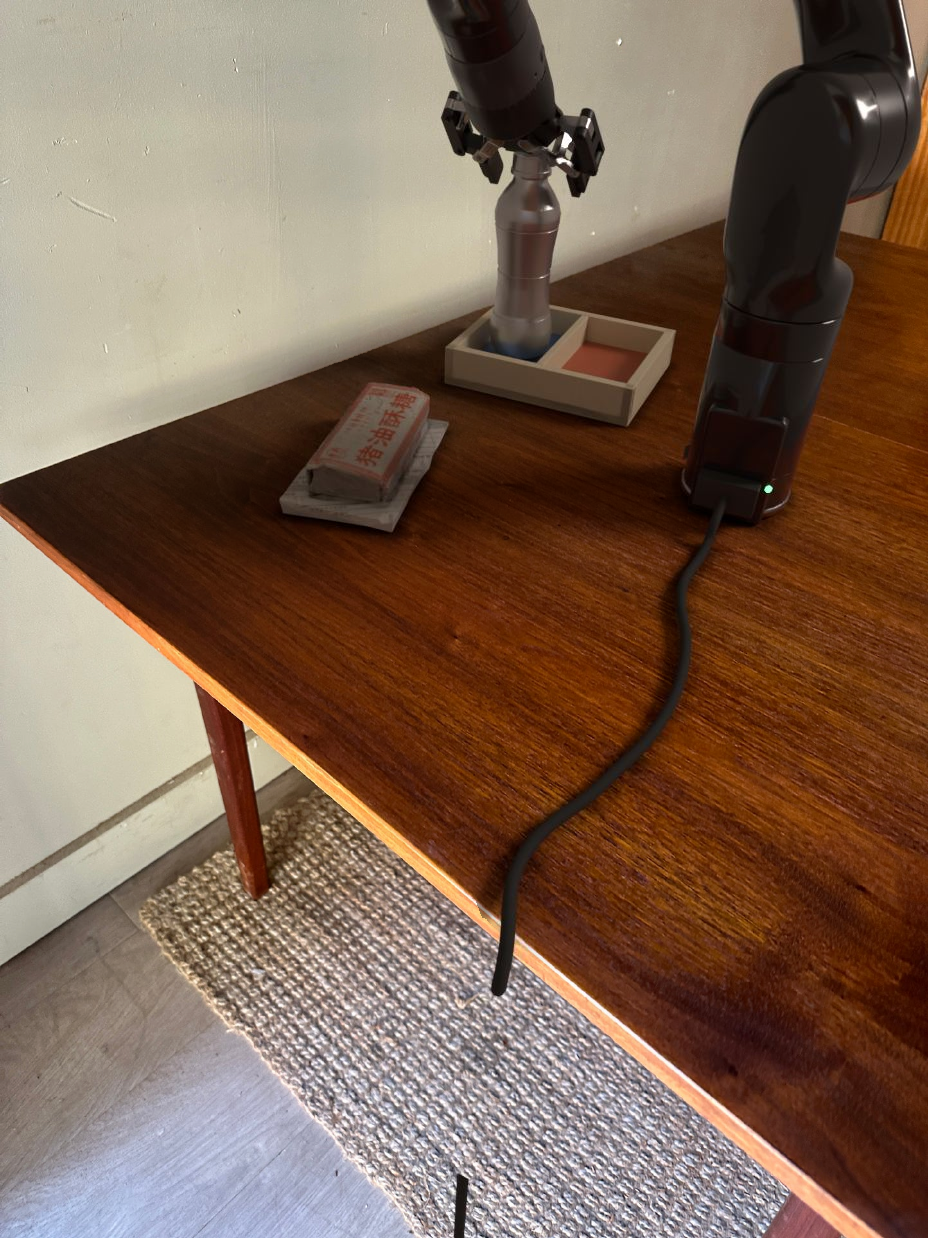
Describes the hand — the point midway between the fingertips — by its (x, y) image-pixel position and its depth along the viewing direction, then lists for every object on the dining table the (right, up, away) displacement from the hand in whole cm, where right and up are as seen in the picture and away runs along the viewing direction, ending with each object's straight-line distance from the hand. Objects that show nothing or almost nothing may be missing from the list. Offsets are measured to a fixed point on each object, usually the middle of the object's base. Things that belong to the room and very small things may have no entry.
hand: (538, 182), depth 89 cm
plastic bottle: (-1, -14, +10) cm, 17 cm away
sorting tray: (+3, -16, +10) cm, 19 cm away
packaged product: (-16, -30, -7) cm, 34 cm away
